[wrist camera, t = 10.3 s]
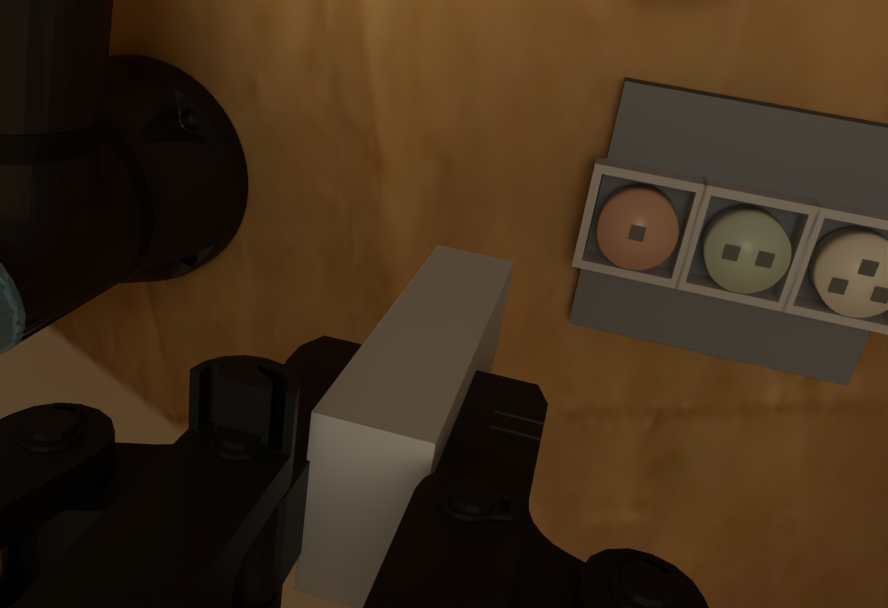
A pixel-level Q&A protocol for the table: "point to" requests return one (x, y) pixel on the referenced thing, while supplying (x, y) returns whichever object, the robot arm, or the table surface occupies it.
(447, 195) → the table surface
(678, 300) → the panel
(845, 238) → the cream button
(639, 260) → the terracotta button
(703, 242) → the sage button
